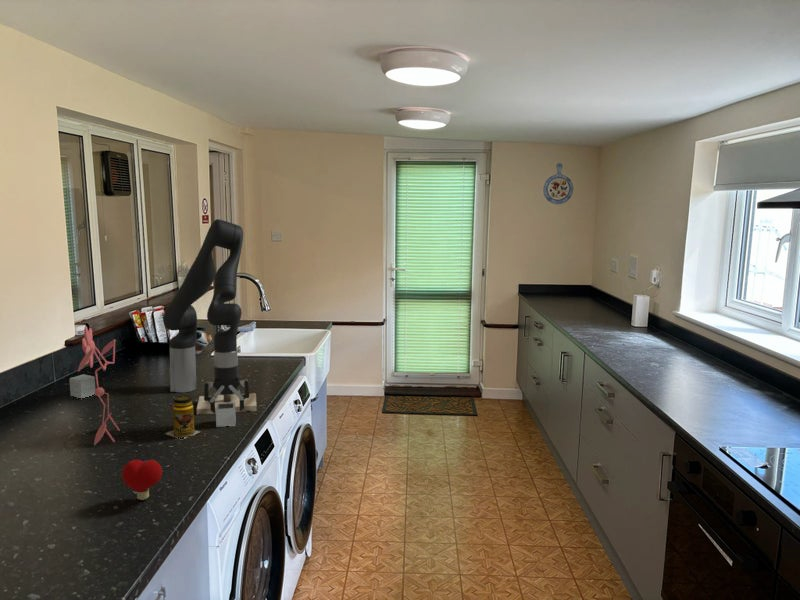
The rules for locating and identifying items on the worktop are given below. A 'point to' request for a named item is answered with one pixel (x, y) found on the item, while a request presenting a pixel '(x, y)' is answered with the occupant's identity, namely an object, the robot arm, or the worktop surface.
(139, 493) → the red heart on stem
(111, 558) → the worktop surface
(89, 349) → the figurine
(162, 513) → the worktop surface
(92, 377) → the product box
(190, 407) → the condiment
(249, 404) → the hub base
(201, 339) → the lucky cat figurine
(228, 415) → the steel collar
